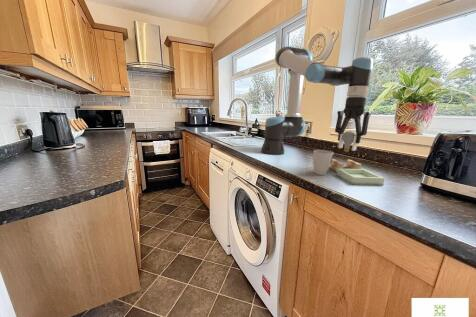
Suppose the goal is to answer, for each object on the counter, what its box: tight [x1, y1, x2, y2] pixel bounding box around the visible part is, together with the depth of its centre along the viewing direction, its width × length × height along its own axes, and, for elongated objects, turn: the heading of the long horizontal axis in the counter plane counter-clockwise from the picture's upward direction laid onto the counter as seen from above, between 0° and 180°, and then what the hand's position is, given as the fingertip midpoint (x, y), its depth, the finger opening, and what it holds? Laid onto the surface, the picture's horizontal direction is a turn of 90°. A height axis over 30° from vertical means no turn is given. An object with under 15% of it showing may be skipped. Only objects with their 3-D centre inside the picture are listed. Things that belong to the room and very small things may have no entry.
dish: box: [336, 168, 386, 186], centre depth 80 cm, size 12×12×3 cm
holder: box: [330, 158, 362, 173], centre depth 92 cm, size 9×9×4 cm
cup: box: [312, 149, 335, 176], centre depth 86 cm, size 8×8×10 cm
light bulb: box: [342, 130, 356, 153], centre depth 90 cm, size 5×6×10 cm
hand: (346, 148), depth 91 cm, fingers closed on light bulb, 5 cm apart
